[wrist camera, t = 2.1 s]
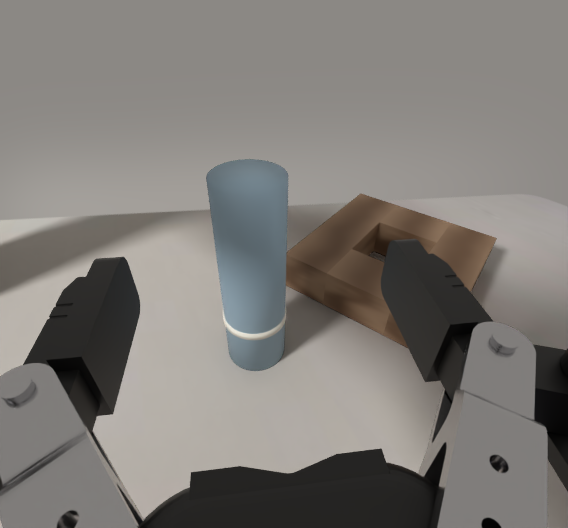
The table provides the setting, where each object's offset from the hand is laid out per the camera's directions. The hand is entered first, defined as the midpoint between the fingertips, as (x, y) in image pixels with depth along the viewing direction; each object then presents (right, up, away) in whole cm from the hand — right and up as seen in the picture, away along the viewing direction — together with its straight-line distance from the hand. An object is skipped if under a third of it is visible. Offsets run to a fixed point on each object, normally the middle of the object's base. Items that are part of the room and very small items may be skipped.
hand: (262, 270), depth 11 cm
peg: (-2, -7, +20) cm, 21 cm away
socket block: (+12, -1, +28) cm, 30 cm away
